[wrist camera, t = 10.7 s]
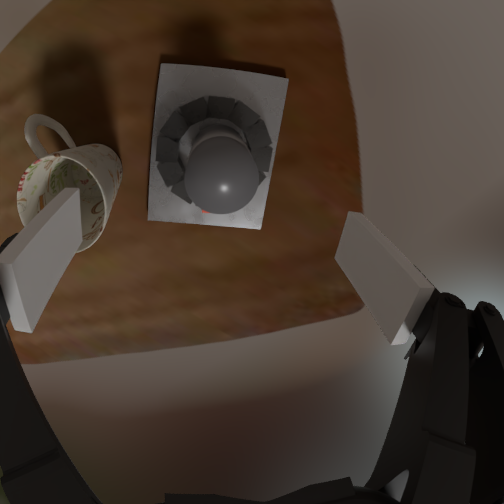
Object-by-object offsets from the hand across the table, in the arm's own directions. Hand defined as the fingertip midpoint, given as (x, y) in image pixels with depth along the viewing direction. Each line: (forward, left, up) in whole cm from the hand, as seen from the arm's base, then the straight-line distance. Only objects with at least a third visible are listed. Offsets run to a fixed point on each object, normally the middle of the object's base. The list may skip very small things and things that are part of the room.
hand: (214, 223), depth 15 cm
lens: (+1, 0, -17) cm, 17 cm away
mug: (-13, -2, -18) cm, 23 cm away
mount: (0, 0, -18) cm, 18 cm away
